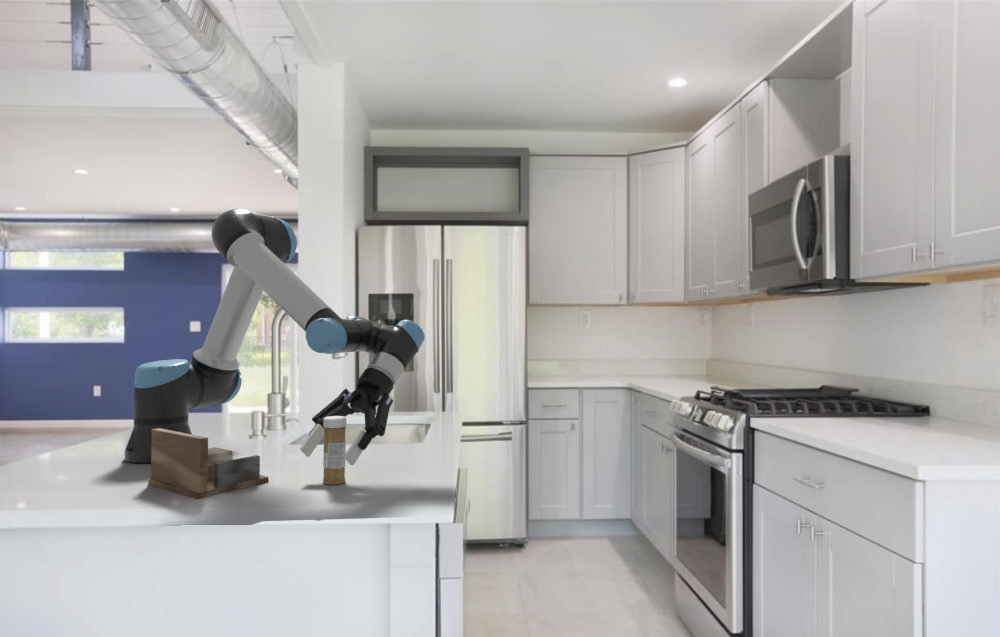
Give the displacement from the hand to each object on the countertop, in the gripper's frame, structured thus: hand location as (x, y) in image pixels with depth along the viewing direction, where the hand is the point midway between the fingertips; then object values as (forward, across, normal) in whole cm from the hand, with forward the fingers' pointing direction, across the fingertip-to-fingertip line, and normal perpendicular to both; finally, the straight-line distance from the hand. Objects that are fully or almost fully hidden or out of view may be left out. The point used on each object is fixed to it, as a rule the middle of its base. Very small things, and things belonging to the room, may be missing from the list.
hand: (325, 457), depth 120 cm
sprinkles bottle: (+2, 0, -6) cm, 6 cm away
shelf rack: (+13, +21, +5) cm, 25 cm away
